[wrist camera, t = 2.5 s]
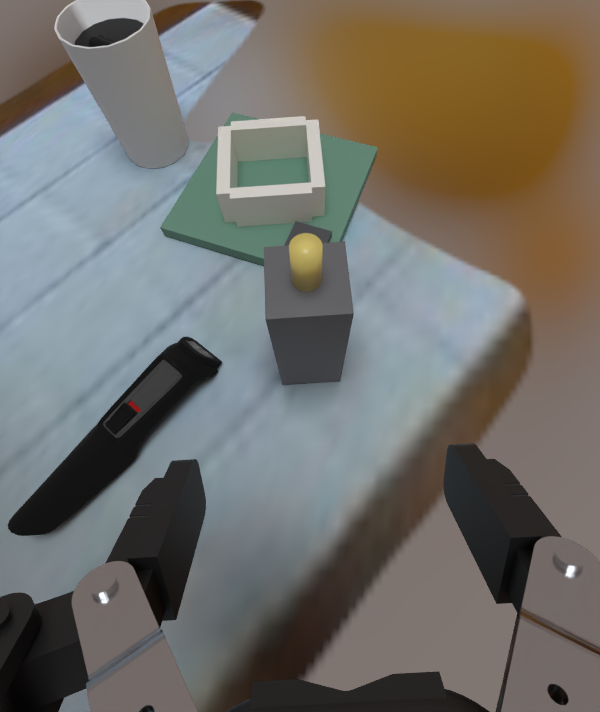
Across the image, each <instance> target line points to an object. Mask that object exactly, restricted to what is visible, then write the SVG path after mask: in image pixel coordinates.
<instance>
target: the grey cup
mask: <svg viewBox="0 0 600 712" xmlns="http://www.w3.org/2000/svg"><path fill="white" fill-rule="evenodd" d="M54 29H55V31H56V33H57V35H58V37H59V39H60V41H61V43H62V44H63V46H64V48H65V50H66V51H67V53H68V55H69V56H70V58H71V60H72V61H73V63H74V65H75V67H76V68H77V70H78V72H79V73H80V75H81V77H82V78H83V80H84V82H85V84H86V85H87V87H88V89H89V90H90V92H91V94H92V95H93V97H94V99H95V101H96V102H97V104H98V106H99V107H100V109H101V111H102V112H103V114H104V116H105V118H106V119H107V121H108V123H109V124H110V126H111V128H112V129H113V131H114V133H115V134H116V136H117V138H118V140H119V141H120V143H121V145H122V146H123V148H124V150H125V151H126V153H127V155H128V157H129V158H130V160H131V161H132V162H133V163H135V164H136V165H138V166H139V167H144V168H149V169H154V168H163V167H165V166H168V165H170V164H173V163H175V162H176V161H177V160H178V159H180V158H181V157H182V156H183V155H184V153H185V151H186V150H187V148H188V136H187V133H186V130H185V126H184V123H183V119H182V116H181V112H180V109H179V105H178V102H177V98H176V95H175V91H174V88H173V85H172V81H171V78H170V74H169V71H168V67H167V64H166V60H165V57H164V53H163V50H162V46H161V43H160V40H159V36H158V33H157V29H156V26H155V22H154V19H153V15H152V12H151V9H150V7H149V5H148V4H147V2H146V1H145V0H76V1H75V2H73V3H71V4H69V5H68V6H66V7H65V8H64V9H63V11H62V12H61V13H60V14H59V15H58V16H57V18H56V23H55V27H54Z"/></svg>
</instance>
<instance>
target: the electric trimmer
mask: <svg viewBox="0 0 600 712" xmlns="http://www.w3.org/2000/svg"><path fill="white" fill-rule="evenodd" d="M200 361H201V362H200ZM205 363H206V364H205ZM220 364H221V361H220V360H219V359H218V358H217V357H215V356H214V355H213V354H212V353H210V352H209V351H208V350H207V349H205V348H204V347H203V346H202V345H200V344H199V343H198V342H197V341H195V340H194V339H192V338H190V337H183V338H181V339H180V341H179V342H178V343H175V344H173V345H170V346H169V347H167V348H166V349H165V350H164V351H163V352H162V353H161V354H160V355H159V356H158V357H157V358H156V359H155V360H154V361H153V362H152V363H151V364H150V365H149V366H148V368H147V369H146V370H145V371H144V372H143V373H142V374H141V375H140V376H139V377H138V378H137V379H136V381H135V382H134V383H133V384H132V385H131V386H130V387H129V388H128V389H127V390H126V391H125V393H124V394H123V395H122V396H121V397H120V398H119V399H118V400H117V401H116V402H115V403H114V405H113V406H112V407H111V408H110V409H109V410H108V411H107V413H106V414H105V415H104V416H103V417H102V418H101V420H100V421H99V422H98V424H97V425H96V426H95V427H94V428H93V429H92V430H91V431H90V432H89V433H88V434H87V436H86V437H85V438H84V439H83V440H82V441H81V442H80V443H79V444H78V446H77V447H76V448H75V449H74V450H73V451H72V452H71V453H70V454H69V455H68V457H67V458H66V459H65V460H64V461H63V462H62V463H61V464H60V465H59V466H58V468H57V469H56V470H55V471H54V472H53V473H52V474H51V475H50V476H49V477H48V478H47V480H46V481H45V482H44V483H43V484H42V485H41V486H40V487H39V488H38V489H37V490H36V492H35V493H34V494H33V495H32V496H31V497H30V498H29V499H28V500H27V501H26V502H25V504H24V505H23V506H22V507H21V508H20V509H19V510H18V511H17V512H16V513H15V514H14V515H13V517H12V518H11V519H10V521H9V523H8V529H9V530H10V531H11V532H12V533H14V534H16V535H22V536H29V535H41V534H47V533H50V532H51V531H53V530H54V529H56V528H57V527H58V526H59V525H60V524H62V523H63V522H64V521H65V520H67V519H68V518H69V517H70V516H71V515H73V514H74V513H75V512H76V511H77V510H78V509H79V508H81V507H82V506H83V505H84V504H85V503H86V502H87V501H89V500H90V499H91V498H92V497H93V496H94V495H95V494H97V493H98V492H99V491H100V490H101V489H102V488H103V487H105V486H106V485H107V484H108V483H109V482H110V481H111V480H113V479H114V478H115V477H116V476H117V475H118V474H119V473H120V472H121V471H123V470H124V469H125V468H126V467H127V466H128V465H129V464H130V463H131V462H132V461H133V460H134V459H135V457H136V453H137V450H138V447H139V444H140V442H141V441H142V439H143V438H144V436H145V435H146V434H147V433H148V432H149V430H150V429H151V428H152V427H153V426H154V425H155V424H156V423H157V422H158V421H159V420H160V419H161V418H162V417H163V416H164V415H165V414H166V413H167V412H168V411H169V410H170V408H171V407H172V406H173V405H174V404H175V403H176V402H177V401H178V400H179V399H180V398H181V397H182V396H183V395H184V394H185V393H186V392H187V391H188V390H189V389H190V387H191V386H192V385H194V384H195V383H196V382H197V381H199V380H202V379H205V378H208V377H210V376H213V375H214V374H216V373H217V372H218V370H217V367H218V366H219V365H220ZM116 437H117V438H116Z"/></svg>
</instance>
